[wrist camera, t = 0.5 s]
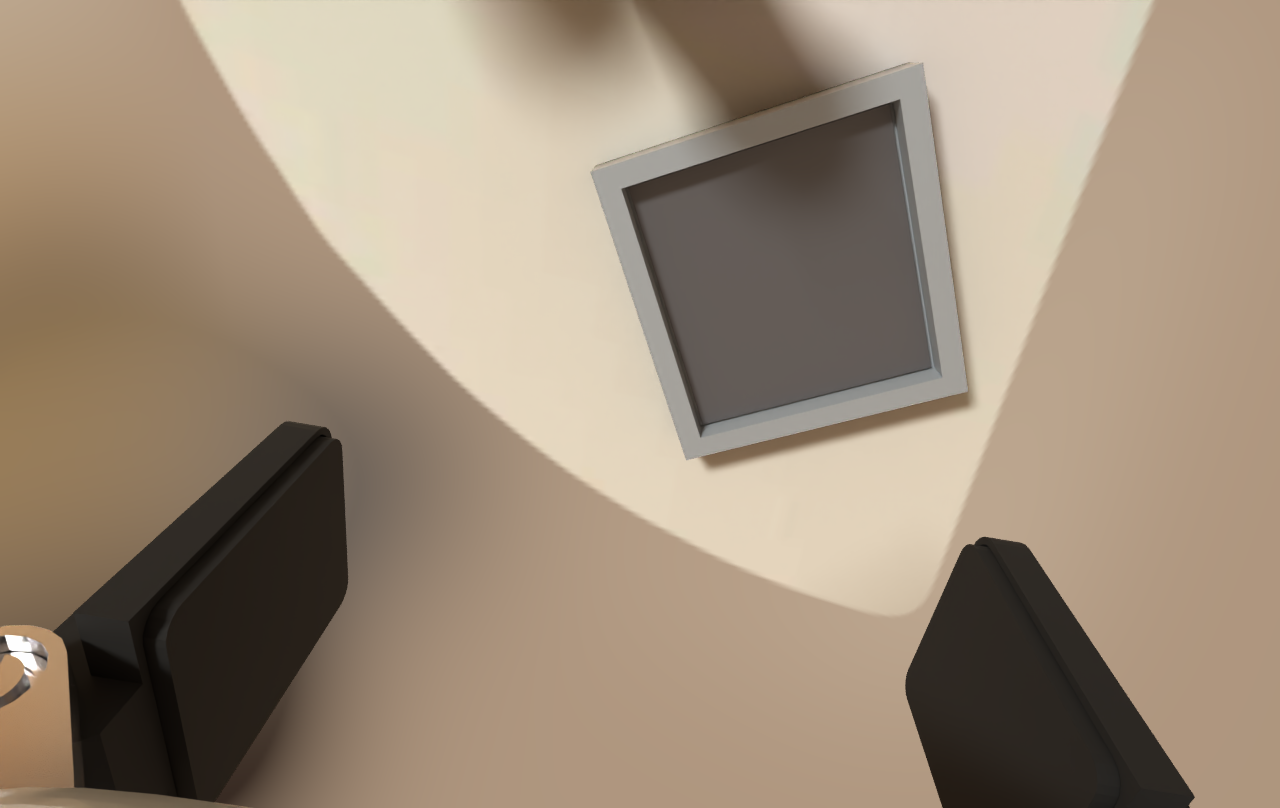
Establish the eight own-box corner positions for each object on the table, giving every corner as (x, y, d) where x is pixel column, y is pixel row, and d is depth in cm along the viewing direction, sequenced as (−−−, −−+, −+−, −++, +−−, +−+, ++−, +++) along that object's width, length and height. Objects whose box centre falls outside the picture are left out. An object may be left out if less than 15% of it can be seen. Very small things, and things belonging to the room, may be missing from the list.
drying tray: (907, 62, 34) (922, 62, 32) (952, 373, 41) (968, 391, 39) (596, 165, 37) (590, 172, 35) (686, 439, 44) (686, 460, 42)
